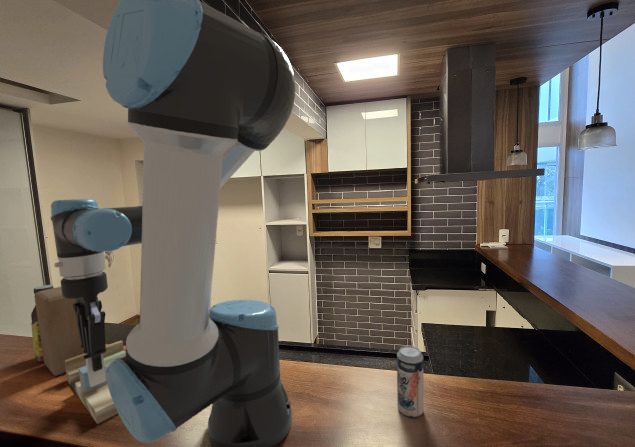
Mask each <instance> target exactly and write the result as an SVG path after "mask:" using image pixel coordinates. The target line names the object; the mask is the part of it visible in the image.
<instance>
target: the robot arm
mask: <svg viewBox="0 0 635 447" xmlns="http://www.w3.org/2000/svg"><path fill="white" fill-rule="evenodd" d="M109 21H110V22H109V24H108V26H107V27H108V28H107V31H106V35H105V39H104V40H105V41H104V45H103V53H102V54H103V55H102V72H103V78H104V79H105V81H106V82H105V88H106V90H107V93H108V94H109V97H110V98H111V99H112V100H113V101H115V103H117V104H118V105H120V106H121V107H123V108H125V109H127V125H128V126H129V127H130V128H131V130H132V131H133V133H134V134H136V135H137V136H138V137H139V138H140V140H141V142H142V143H143V161H142V162H143V163H142V164H143V165H142V167H143V168H142V169H143V170H142V204H141V205H137V206H123V207H122V206H121V207H120V206H119V207H103V208H99V205H98V204H99V203H98V202H97V200H96V199H94V198H79V199H78V198H77V199H75V198H72V199H56V200H53V201H52V202H51V204H50V211H51V212H50V215H51V216H50V220H51V224H52V230H53V235H54V236H53V237H54V243H55V250H56V256H57V260H58V261H57V262H55V263H54V264H53V265H54V267H55V268H58V270H59V271H58V272H59V276H60V277H61V280H60V287H61V289H62V296H63V297H65V298H69V299H74V298H76V302H77V303H73V308H74V311H75V315H76V321H77V326H78V331H79V336H80V342H81V348H82V349H83V348H84V353H85V354H87V355H84V356H83V357H84V360H85V359H86V366H87V373H88V381H89V385H90V387H93V386H95V385H98V384H100V383H102V382H105V381H106V379H107V384H108V388H109V391H110V394H111V397H112V400H113V402H114V405H115V407H116V409H117V412H118V414H117V415H119V417H120V419H121V421H122V423H123V425H124V426H125V427H126V429H127V431H128V433H130V434H131V435H132V437H134V439H136V441H138V442H140V443H142V444H143V443H144V444H151V443H154V442H157V441H158V440H160V439H161V438H163V437H165V436H167V434H169V433H171V432H172V433H173V432H176V431H177V429H178V428H179V427H181V426H182V425H183V424H185V423H187V422H188V421H190V420H191V419H193V418H194V417H195V416H197V415H198V414H200V413H201V412H202V411H204V410H205V409H207V408H208V407H210V406H211V405H212V406H211V410H210V413H209V417H208V420H207V432H208V440H209V441H208V442H209V443H210V445H211V447H277V446H278V444H280V443H281V442H282V441H283V440H284V439H285V438H286V436H287V435H288V433H289V432H290V430H291V427H292V424H293V422H292V421H293V417H292V416H293V414H292V413H293V412H292V405H291V401H290V399H289V396H288V394H287V392H286V390H285V388H284V384H283V382H282V380H281V369H280V368H281V366H280V364H281V363H280V362H281V361H280V345H279V344H280V342H279V325H278V319H277V311H276V309H275V307H274V306H272V305H271V304H269V303H268V302H264V301H260V300H256V299H255V300H254V299H235V300H233V299H232V300H226V301H221V302H218V303H216V304H214V305H213V306H212V307H211V301H212V300H211V298H212V288H213V287H212V285H213V275H214V266H215V254H216V253H215V252H216V242H217V239H216V238H217V231H218V230H217V228H218V218H219V206H220V198H221V197H220V195H221V189H222V187H223V186H224V185H225V184H226V183H227V182H228V181H229V179H230V178H231V177H232V176H233V175H234V174H236V173H237V171H238V170H239V169H240V168H241V167H242V165H244V164H245V162H246V161H248V159H249V158H250V157H251V156H252V154H254V152H255V151H256V152H262V151H264V150H266V149H267V148H268V147H269V146H270V145H271V143H273V142H274V141H275V139H276V138H277V137H278V136H279V134H280V133H281V132H282V131H283V129H284V127H285V126H286V124H287V123H288V120H289V119H290V116H291V114H292V110H293V108H294V104H295V99H296V78H295V74H294V70H293V67H292V64H291V62H290V60H289V58H288V56H287V55H286V53H285V51H284V50H283V49H282V47H281V46H279V44H277V43H276V42H275V41H274V40H273V39H272V38H270V37H268V36H267V35H266V34H263V33H262V32H260V31H258V30H254V29H252V28H250V27H249V26H247V25H245V24H244V23H241V22H240V21H238V20H236V19H234V18H232V17H230V16H228V15H226V14H224V13H223V12H221V11H219V10H217V9H216V8H214V7H212V6H210V5H208V4H206V3H204V2H202V1H200V0H119V2H118V4H117V5H116V8H115V10H114V12H113V13H112V16H111V18H110V20H109ZM140 244H141V254H140V256H141V259H140V301H139V306H140V307H139V323H138V324H137V325H135V326H134V327H133V328H132V329H131V330H130V331H129V333H128V334H127V337H126V341H125V352H126V356H124V357H122V358H116V360H115V361H113V362H112V363H110V365H108V367H107V370H106V376H105V368H104V360H103V353H105V352H106V345H107V344H106V326H105V324H106V323H105V322H106V321H105V320H106V312H105V311H102V309H103V304H102V300H101V299H100V300H99V297H98V295H99V294H100V293H103V292H105V291H107V290H108V288H109V284H108V276H107V273H106V272H105V270H106V269H107V266H106V259H105V252H113V251H116V250H118V249H121V248H122V247H128V246H133V245H134V246H135V245H140Z"/></svg>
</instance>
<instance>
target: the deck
mask: <svg viewBox="0 0 635 447" xmlns="http://www.w3.org/2000/svg"><path fill="white" fill-rule="evenodd" d="M105 345H106V352H105V353H103V360H104V365H105V366H106V369H107V367H108V365H110V363H112V362H113V361H115V360H116V358H122V357H124V356H126V350H124V342H123V340H118V341H115V342H112V343H110V344H105ZM84 355H87V354H85V353H84V354H81V355H78V356H75V357H73V358H70V359H67V360H64V361H65V368H66V372H65V374H66V380H67V383H68V384H69V386H70V387H71V388H72V389H73V390H74V392H75V395H77V396H78V398H79V399H80V401H81V403H82V404H83V406H85V408H86V410H87V411H88V413H89V414H90V416H91V417H92V419H93V420H94V421H95V423H96V424H97V425H98V424H101V423H103V422H104V421H107V420H108V419H110V418H112V417H115V415H119V414H118V412H117V409H116V407H115V405H114V402H113V400H112V397H111V394H110V391H109V388H108V384H106V385H103V386H101V387H99V388H97V389H94V390H92V391H90V392H87V393H86V392H85V391H84V389H83V388H82V387H81V383H80V375H79V368H82V367H84V366H86V359H85V360H84V357H83V356H84Z"/></svg>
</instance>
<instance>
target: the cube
mask: <svg viewBox="0 0 635 447" xmlns="http://www.w3.org/2000/svg"><path fill="white" fill-rule="evenodd" d="M104 368H105V376H106V370H107V369H106V366H105V365H104ZM79 375H80V383H81V387H82V388H83V389H84V391H85V392H86V393H87V392H90V391H92V390H94V389H97V388H99V387H101V386H103V385H106V384H107V379H106V381H105V382H102V383H100V384H98V385H95V386H93V387H90V385H89V381H88V373H87V366H84V367H82V368H79Z"/></svg>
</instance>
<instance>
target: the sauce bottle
mask: <svg viewBox="0 0 635 447" xmlns="http://www.w3.org/2000/svg"><path fill="white" fill-rule="evenodd" d="M52 288H54V285H53V284H45V285H39V286H35V287H33V294H34V295H35V293H37V292H39V291H43V290H48V289H52ZM30 318H31V319H30V320H31V323H30V324H31V334H32V345H33V346H32V348H33V355H34V358H35V361H36V362H39V363H40V362H41V363H42V362H43V363H44V359H43V352H42V345H41V338H40V331H39V325H38V318H37V311H36V304H35V305H34V308H33V309H32V311H31V317H30Z"/></svg>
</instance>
